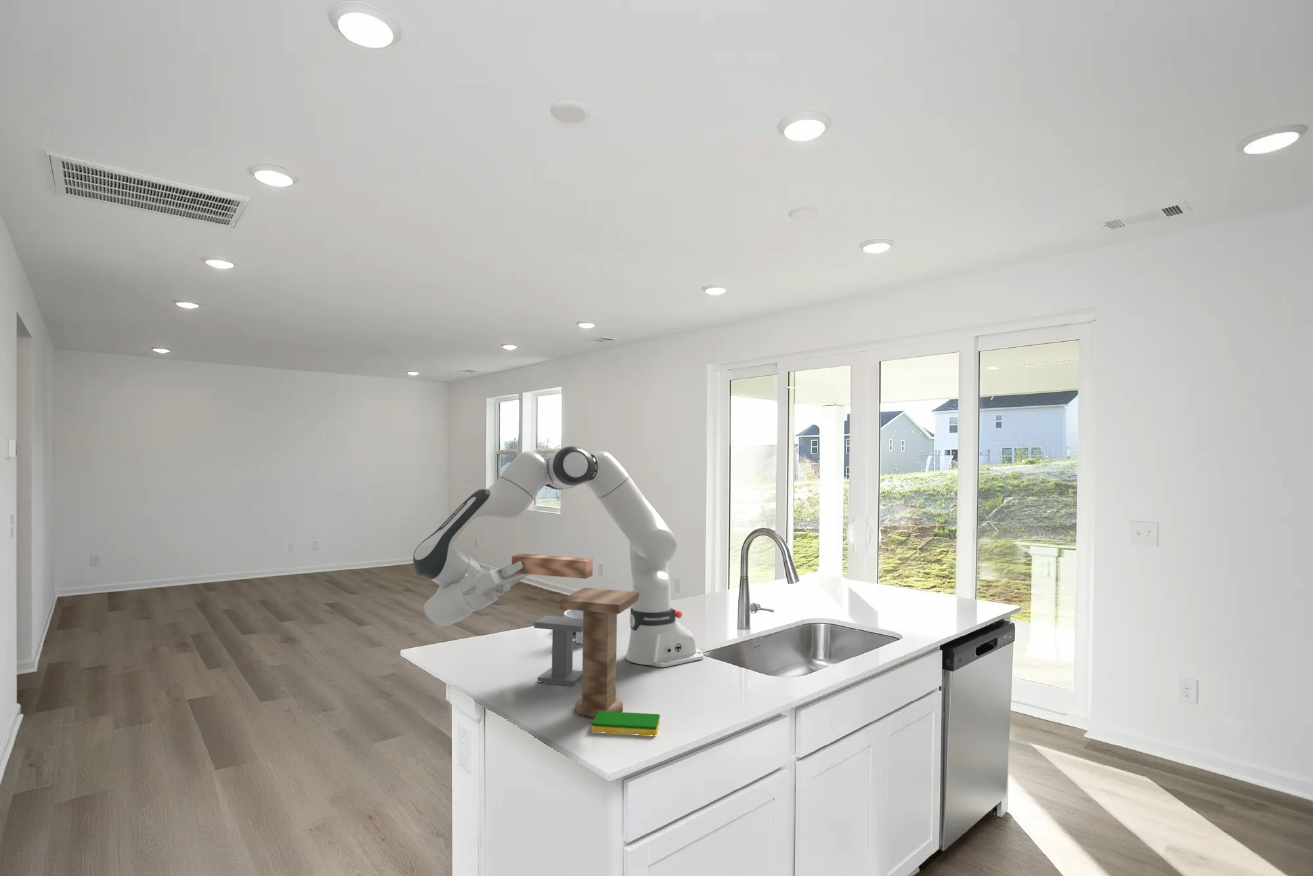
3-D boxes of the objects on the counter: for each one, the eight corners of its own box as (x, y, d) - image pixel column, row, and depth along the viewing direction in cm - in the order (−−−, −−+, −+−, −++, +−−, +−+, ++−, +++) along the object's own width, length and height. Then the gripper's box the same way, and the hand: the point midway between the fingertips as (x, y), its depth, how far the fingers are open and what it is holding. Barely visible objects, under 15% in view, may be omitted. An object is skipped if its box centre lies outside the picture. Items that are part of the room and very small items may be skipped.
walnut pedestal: (637, 702, 159) (638, 592, 160) (617, 725, 146) (619, 604, 146) (582, 695, 163) (584, 587, 164) (558, 717, 150) (559, 599, 150)
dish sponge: (597, 721, 149) (597, 710, 149) (659, 724, 148) (659, 713, 148) (591, 734, 142) (591, 723, 142) (656, 738, 140) (656, 727, 141)
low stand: (591, 676, 177) (592, 619, 177) (579, 687, 169) (580, 627, 169) (546, 671, 180) (546, 615, 181) (532, 681, 173) (533, 622, 173)
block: (592, 575, 158) (592, 558, 158) (585, 578, 154) (586, 561, 154) (519, 570, 163) (519, 553, 163) (511, 572, 159) (511, 555, 159)
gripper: (452, 583, 154) (500, 556, 151) (498, 568, 174) (541, 544, 171) (464, 608, 153) (512, 582, 150) (508, 591, 173) (552, 567, 170)
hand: (528, 562), depth 160 cm, fingers closed on block, 4 cm apart
